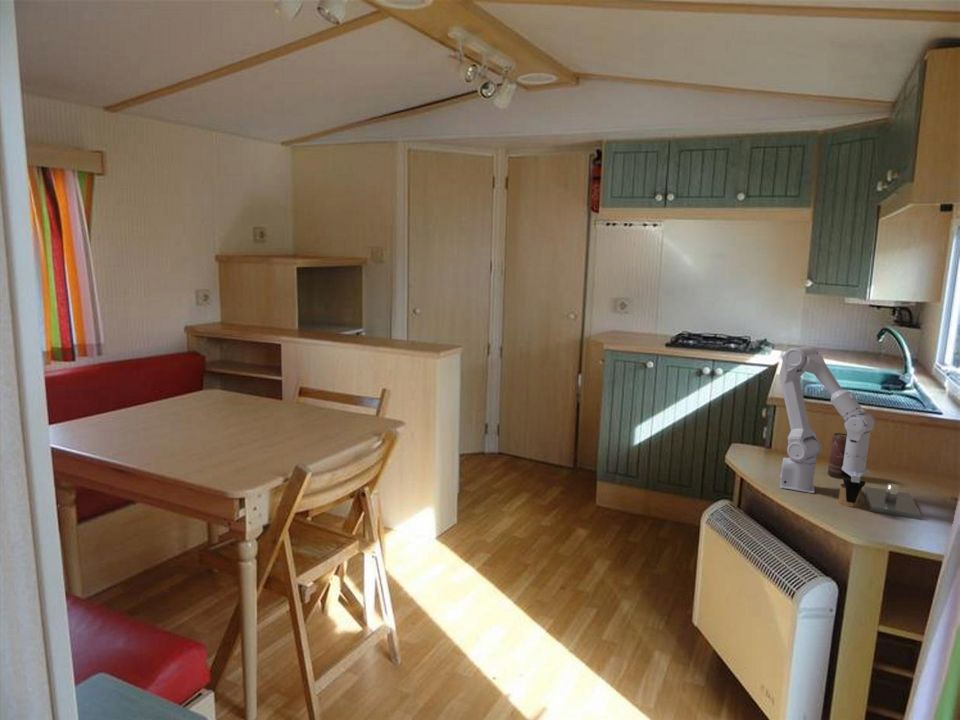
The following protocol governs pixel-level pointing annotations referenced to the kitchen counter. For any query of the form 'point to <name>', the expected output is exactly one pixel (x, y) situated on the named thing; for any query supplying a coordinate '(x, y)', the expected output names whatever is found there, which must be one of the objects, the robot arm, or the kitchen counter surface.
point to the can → (837, 455)
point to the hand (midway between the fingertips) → (849, 498)
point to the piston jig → (891, 502)
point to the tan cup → (843, 497)
